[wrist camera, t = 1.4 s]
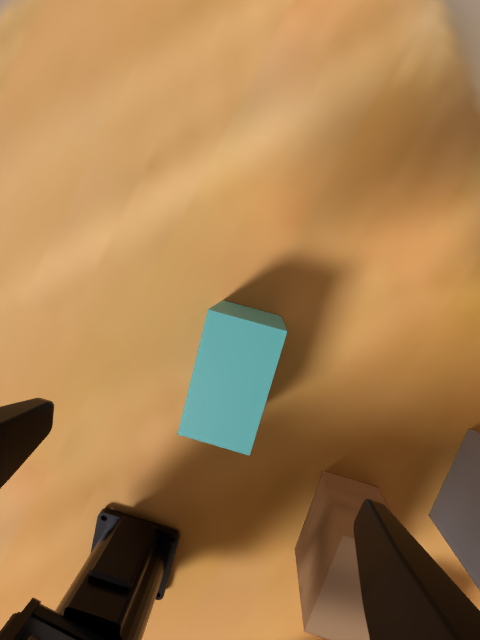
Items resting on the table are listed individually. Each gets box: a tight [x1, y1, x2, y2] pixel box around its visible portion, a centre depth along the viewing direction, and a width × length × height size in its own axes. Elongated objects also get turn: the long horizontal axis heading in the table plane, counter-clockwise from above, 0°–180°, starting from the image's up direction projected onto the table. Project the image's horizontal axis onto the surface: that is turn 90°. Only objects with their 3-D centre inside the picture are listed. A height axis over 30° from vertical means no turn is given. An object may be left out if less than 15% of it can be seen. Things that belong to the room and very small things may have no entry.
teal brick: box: [178, 300, 287, 456], centre depth 16 cm, size 7×4×5 cm, turn 165°
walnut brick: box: [295, 471, 392, 640], centre depth 18 cm, size 7×4×5 cm, turn 165°
